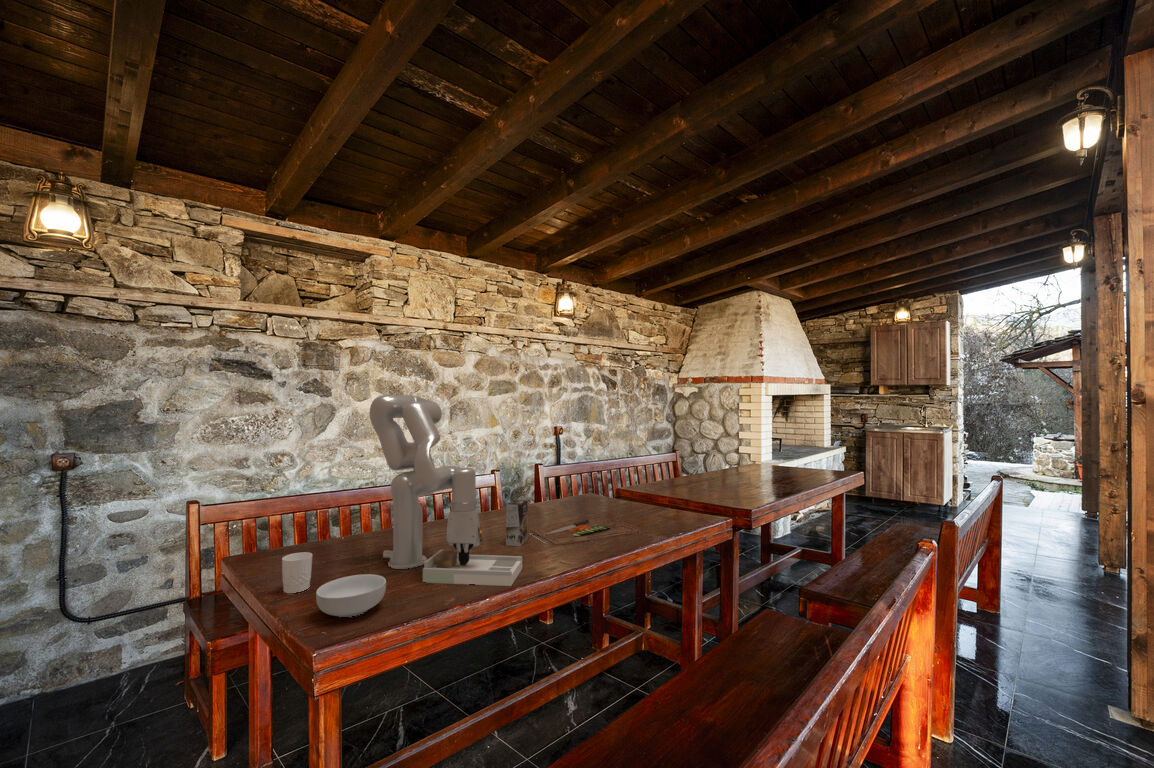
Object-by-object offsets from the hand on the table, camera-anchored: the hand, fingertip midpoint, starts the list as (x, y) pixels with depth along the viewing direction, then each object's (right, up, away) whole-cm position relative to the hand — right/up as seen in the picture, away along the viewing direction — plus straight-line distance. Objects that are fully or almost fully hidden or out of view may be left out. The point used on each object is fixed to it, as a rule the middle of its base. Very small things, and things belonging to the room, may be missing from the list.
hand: (463, 563), depth 153 cm
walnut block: (-6, -1, 0) cm, 6 cm away
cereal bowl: (-24, -3, -26) cm, 36 cm away
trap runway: (+3, -4, 0) cm, 5 cm away
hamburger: (-7, -6, +40) cm, 41 cm away
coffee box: (+13, -5, +36) cm, 38 cm away
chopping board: (+40, -7, +52) cm, 65 cm away
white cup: (-47, -4, -12) cm, 49 cm away
